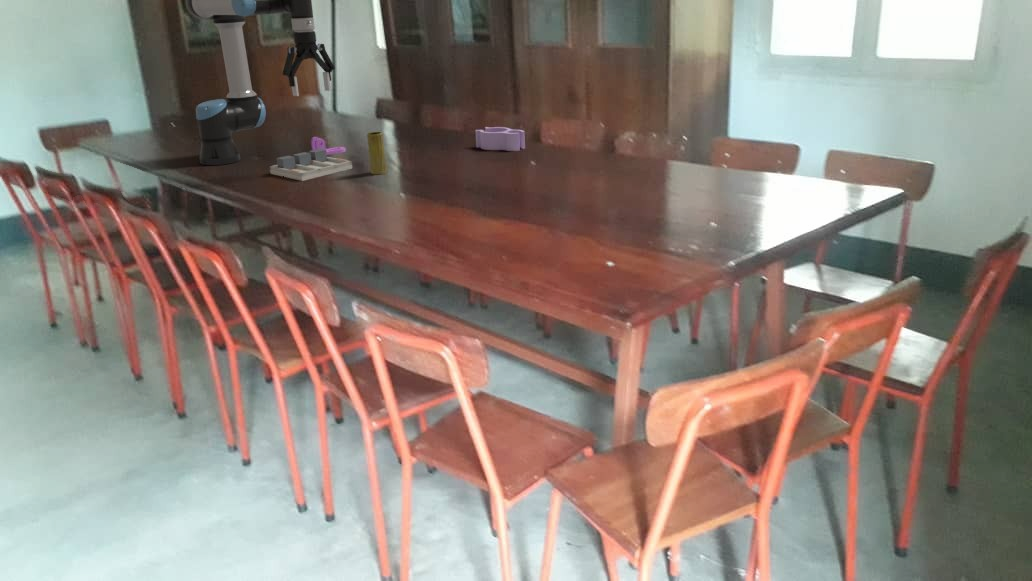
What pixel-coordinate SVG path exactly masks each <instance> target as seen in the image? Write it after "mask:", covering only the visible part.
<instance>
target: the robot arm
mask: <svg viewBox="0 0 1032 581" xmlns="http://www.w3.org/2000/svg"><path fill="white" fill-rule="evenodd" d="M312 3H313V2H312V0H185V7H186V10H187V11H188V13H189V14H191V16H193V17H195V18H197V19H200V20H205V21H206V20H212V21H213V25H214V26H215V27H216V28H218V31H219V37H220V42H221V43H220V44H221V49H222V50H221V51H222V54H223V60H224V67H225V73H226V80H227V84H228V91H229V92H228V93H227V95H226V100H225V99H222V98H217V99H211V100H207V101H204V102H201V103H199V104H198V105H196V107H195V119H196V121H197V126H198V131H199V137H200V142H201V145H200V152H199V162H200V164H201V165H203V166H220V165H223V166H224V165H229V164H233V163H236V162H239V161H240V160H241V156H240V155H241V154H240V152H239V150H238V148H237V146H236V144H235V143H234V141H233V136H232V133H235V132H239V131H244V130H252V129H254V128H258V127H261V126H262V125H263V124H264V122H265V120H266V114H267V111H266V106H265V104H264V101H263V100H262V99H261V98H260V97H258V94H257V93H256V92H255V91H254V90H253V87H252V81H251V74H250V70H249V69H250V68H249V62H248V55H247V50H246V43H245V36H244V30H243V26H244V25H245V24H246V19H245V18H246V17H251V16H260V15H261V16H262V15H274V14H275V15H276V14H277V15H278V14H290V19H291V27H292V28H291V29H292V31H294V32H293V33H292V35H293V42H294V44H295V46H294V47H293V46H288V47H287V56H286V59H285V62H284V67H283V70H282V76H285V77H287V78H288V82H289V86H290V87H291V91H292V96H293V97H300V93H299V86H298V85H299V84H298V77H297V76H295V75H296V73H297V72H298V69H299V67H300V66H301V64H302V61H304V60H308V59H312V60H314V61H315V62H316V63H317V64H318V66H320V68H321V69H322V70H323V72H322V78H323V86H324V91H326V92H331V91H332V88H331V81H332V73H333V70H335V69H336V67H335V65H334V63H333V62H332V60H331V58H330V56H329V54H328V52H327V51H326V47H325V44H324V43H318V44H317V36H316V35H317V34H316V32H315V31H314V30H315V28H316V27H315V21H314V12H313V5H312ZM317 51H318V52H319V53H318V52H317ZM295 54H296V56H295ZM320 55H321V56H320ZM294 58H295V59H294Z"/></svg>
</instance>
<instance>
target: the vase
mask: <svg viewBox="0 0 1032 581" xmlns="http://www.w3.org/2000/svg"><path fill="white" fill-rule="evenodd" d="M366 135H367V145H368V158H369V167H370V168H369V169H370V170H369V172H370V174H371V175H385V174H387V172H388V168H387V161H386V160H387V159H386V154H385V146H384V136H383V132H382V131H372V132H367V134H366Z"/></svg>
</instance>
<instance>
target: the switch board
mask: <svg viewBox="0 0 1032 581" xmlns="http://www.w3.org/2000/svg"><path fill="white" fill-rule="evenodd" d="M311 161H312V164H310V165H305V166H304V165H299V164H296V168H293V169H284V168H279V167H278V165H277V164H273V165H270V166H269V172H270V174H271V175H275V176H279V177H283V176H284V177H283V178H288V179H293V180H297V181H301V182H302V181H303V182H304V181H307V180H312V179H316V178H320V177H324V176H327V175H332V174H335V173H340V172H344V171H347V170H351V169H353V162H352V161H351V160H348V159H345V158H344V159H343V158H340V157H339V158H335V157H330V156H327V161H322V162H318V161H316V160H311Z"/></svg>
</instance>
